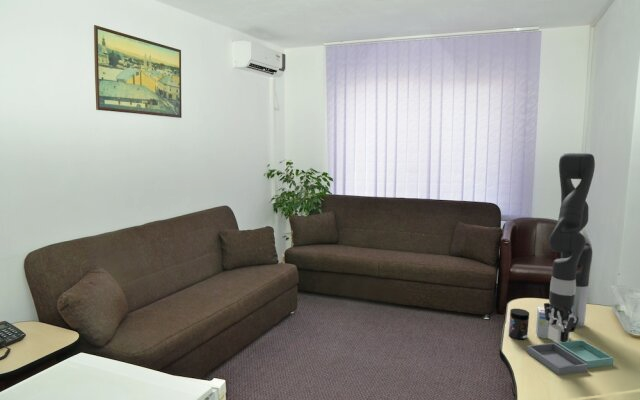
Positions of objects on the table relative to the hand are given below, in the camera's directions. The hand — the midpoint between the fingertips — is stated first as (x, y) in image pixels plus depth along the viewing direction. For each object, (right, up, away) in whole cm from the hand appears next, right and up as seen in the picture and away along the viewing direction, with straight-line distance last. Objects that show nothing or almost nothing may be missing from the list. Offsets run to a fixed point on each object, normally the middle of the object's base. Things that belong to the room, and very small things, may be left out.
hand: (558, 338), depth 160 cm
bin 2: (+11, -8, +5) cm, 15 cm away
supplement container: (-5, -6, +20) cm, 22 cm away
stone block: (0, -1, 0) cm, 1 cm away
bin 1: (0, -9, +1) cm, 9 cm away
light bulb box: (+8, -6, +21) cm, 24 cm away
